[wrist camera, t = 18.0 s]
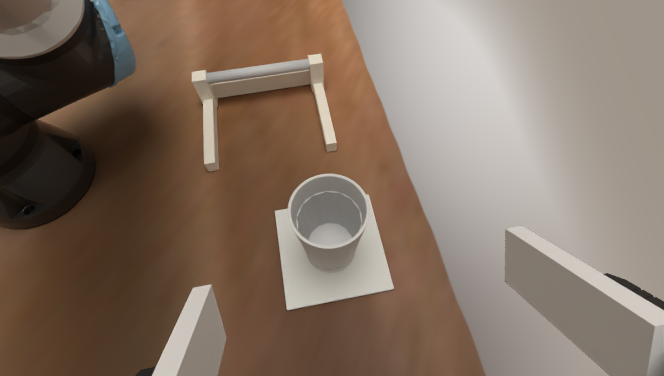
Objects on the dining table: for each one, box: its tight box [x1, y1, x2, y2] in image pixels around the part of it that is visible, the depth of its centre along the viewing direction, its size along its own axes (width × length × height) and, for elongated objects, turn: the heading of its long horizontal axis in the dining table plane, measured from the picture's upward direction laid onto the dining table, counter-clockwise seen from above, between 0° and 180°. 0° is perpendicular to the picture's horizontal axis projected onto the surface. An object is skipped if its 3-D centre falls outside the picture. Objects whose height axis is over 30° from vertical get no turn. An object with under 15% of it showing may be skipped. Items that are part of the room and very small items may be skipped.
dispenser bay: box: [192, 54, 337, 171], centre depth 52 cm, size 16×20×6 cm
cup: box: [288, 174, 370, 273], centre depth 39 cm, size 8×8×12 cm
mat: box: [275, 194, 394, 311], centre depth 44 cm, size 13×13×1 cm
